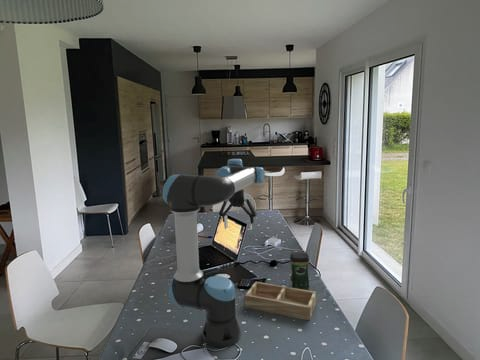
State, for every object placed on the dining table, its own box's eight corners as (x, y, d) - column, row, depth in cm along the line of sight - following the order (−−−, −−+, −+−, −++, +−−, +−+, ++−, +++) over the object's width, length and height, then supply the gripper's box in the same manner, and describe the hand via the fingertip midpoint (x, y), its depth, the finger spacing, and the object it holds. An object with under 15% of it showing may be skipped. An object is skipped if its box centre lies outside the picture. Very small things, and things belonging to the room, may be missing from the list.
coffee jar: (307, 283, 185) (308, 249, 181) (310, 291, 177) (310, 255, 174) (288, 283, 185) (288, 249, 182) (290, 291, 177) (290, 256, 174)
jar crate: (309, 320, 152) (309, 307, 151) (245, 307, 163) (244, 295, 162) (316, 303, 165) (316, 291, 164) (255, 292, 176) (255, 281, 175)
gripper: (261, 188, 183) (263, 227, 187) (216, 187, 191) (219, 225, 195) (257, 191, 176) (259, 232, 180) (211, 190, 184) (213, 229, 188)
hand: (238, 228), depth 187 cm, fingers open, 13 cm apart
